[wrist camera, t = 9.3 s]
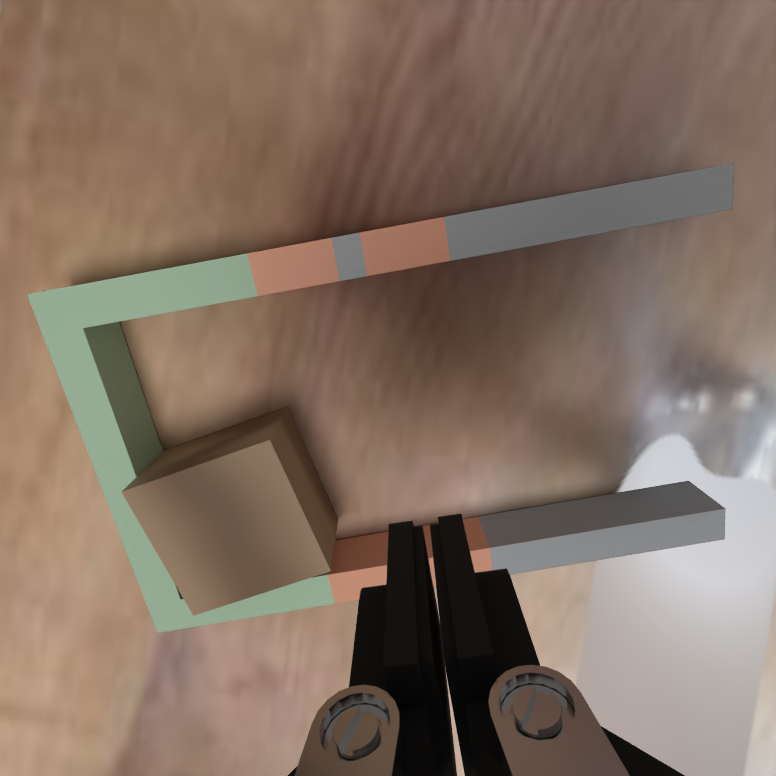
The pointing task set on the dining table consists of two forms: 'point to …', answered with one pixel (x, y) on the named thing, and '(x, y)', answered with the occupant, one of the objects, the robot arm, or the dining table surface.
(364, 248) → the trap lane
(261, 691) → the dining table surface
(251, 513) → the walnut block
